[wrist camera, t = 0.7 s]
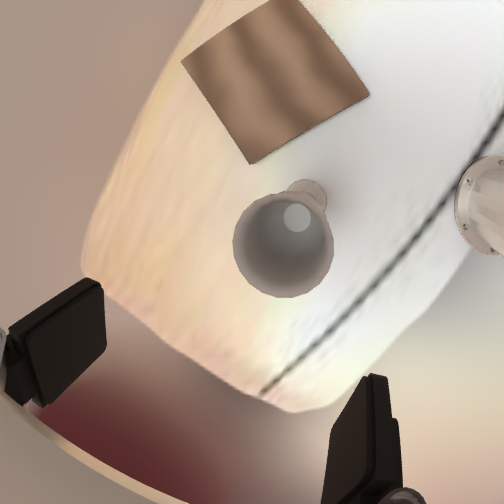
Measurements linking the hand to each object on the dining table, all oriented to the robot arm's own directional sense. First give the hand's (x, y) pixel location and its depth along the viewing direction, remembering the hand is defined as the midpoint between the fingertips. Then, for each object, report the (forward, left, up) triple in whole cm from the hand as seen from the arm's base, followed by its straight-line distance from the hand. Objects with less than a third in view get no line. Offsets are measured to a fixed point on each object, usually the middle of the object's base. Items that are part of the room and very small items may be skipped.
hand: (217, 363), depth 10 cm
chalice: (0, 0, -30) cm, 30 cm away
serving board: (-5, -15, -30) cm, 34 cm away
